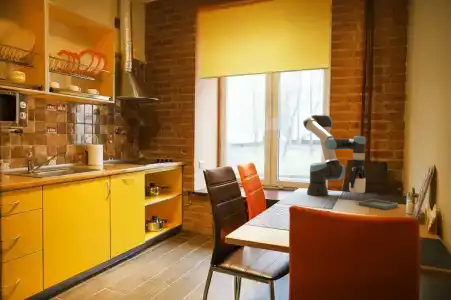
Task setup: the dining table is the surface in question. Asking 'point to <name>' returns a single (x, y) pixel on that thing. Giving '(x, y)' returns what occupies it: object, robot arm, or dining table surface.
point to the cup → (359, 185)
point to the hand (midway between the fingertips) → (356, 191)
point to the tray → (378, 204)
